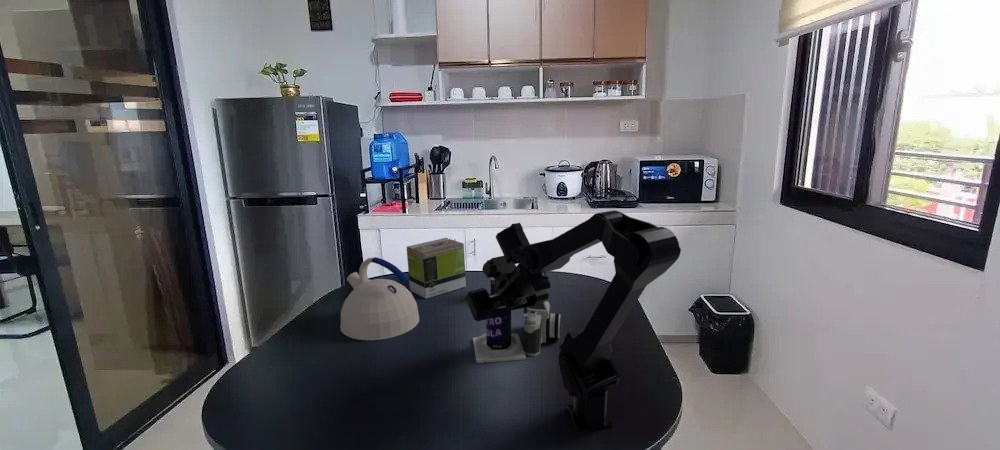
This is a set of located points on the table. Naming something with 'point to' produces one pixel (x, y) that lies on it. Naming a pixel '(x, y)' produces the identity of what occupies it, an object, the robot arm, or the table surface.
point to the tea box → (436, 267)
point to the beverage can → (499, 328)
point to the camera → (539, 327)
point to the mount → (489, 355)
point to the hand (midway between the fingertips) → (494, 312)
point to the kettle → (378, 305)
